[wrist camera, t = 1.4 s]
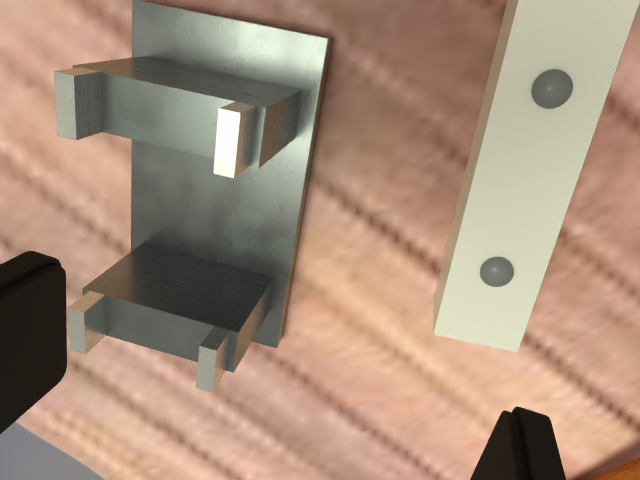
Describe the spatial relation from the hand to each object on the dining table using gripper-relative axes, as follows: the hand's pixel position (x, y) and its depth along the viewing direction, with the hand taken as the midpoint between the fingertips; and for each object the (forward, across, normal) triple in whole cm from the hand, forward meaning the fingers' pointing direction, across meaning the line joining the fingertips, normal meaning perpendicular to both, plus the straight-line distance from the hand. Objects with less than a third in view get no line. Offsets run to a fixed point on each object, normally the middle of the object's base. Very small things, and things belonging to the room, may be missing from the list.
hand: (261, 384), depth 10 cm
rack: (+23, +11, +6) cm, 26 cm away
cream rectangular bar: (+24, -7, -1) cm, 25 cm away
